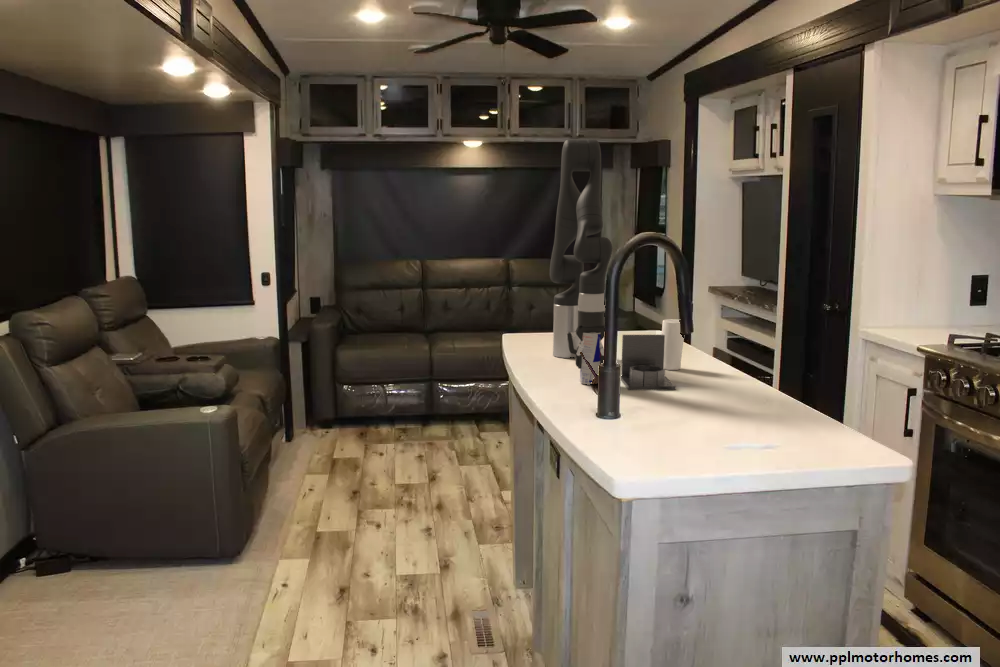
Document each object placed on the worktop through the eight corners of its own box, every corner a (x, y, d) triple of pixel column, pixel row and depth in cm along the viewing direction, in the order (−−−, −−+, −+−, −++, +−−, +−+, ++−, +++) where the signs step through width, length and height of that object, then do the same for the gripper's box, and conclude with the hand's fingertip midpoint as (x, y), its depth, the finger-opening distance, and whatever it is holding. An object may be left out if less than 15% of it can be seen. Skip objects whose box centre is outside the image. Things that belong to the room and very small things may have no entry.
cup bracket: (619, 378, 239) (620, 334, 237) (663, 378, 240) (665, 334, 237) (628, 390, 225) (630, 343, 223) (675, 389, 226) (677, 343, 224)
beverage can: (599, 386, 230) (600, 333, 227) (578, 385, 231) (580, 332, 228) (600, 381, 235) (602, 330, 232) (581, 380, 236) (582, 329, 234)
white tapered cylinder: (681, 366, 256) (683, 319, 253) (684, 371, 249) (686, 322, 246) (659, 366, 256) (661, 318, 254) (661, 370, 250) (663, 322, 247)
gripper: (614, 307, 233) (613, 365, 236) (564, 307, 233) (563, 365, 236) (619, 310, 226) (617, 370, 229) (567, 310, 225) (566, 371, 228)
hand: (590, 367), depth 232 cm, fingers closed on beverage can, 5 cm apart
